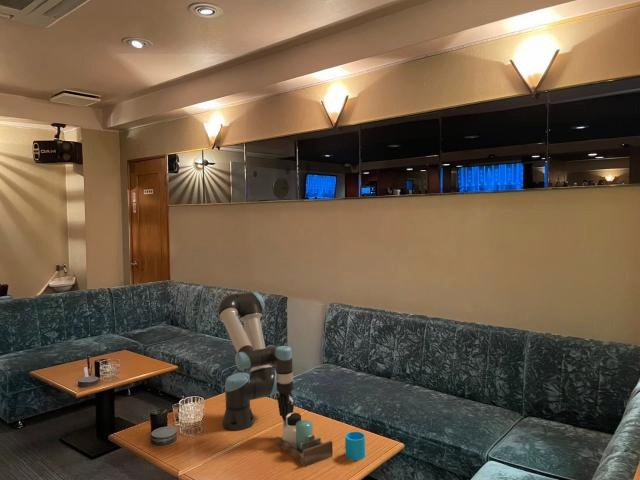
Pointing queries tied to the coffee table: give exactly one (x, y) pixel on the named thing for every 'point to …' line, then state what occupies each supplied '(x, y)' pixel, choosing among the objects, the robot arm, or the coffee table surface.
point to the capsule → (303, 432)
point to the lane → (308, 452)
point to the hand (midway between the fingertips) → (286, 432)
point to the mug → (355, 445)
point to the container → (291, 429)
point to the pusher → (310, 442)
